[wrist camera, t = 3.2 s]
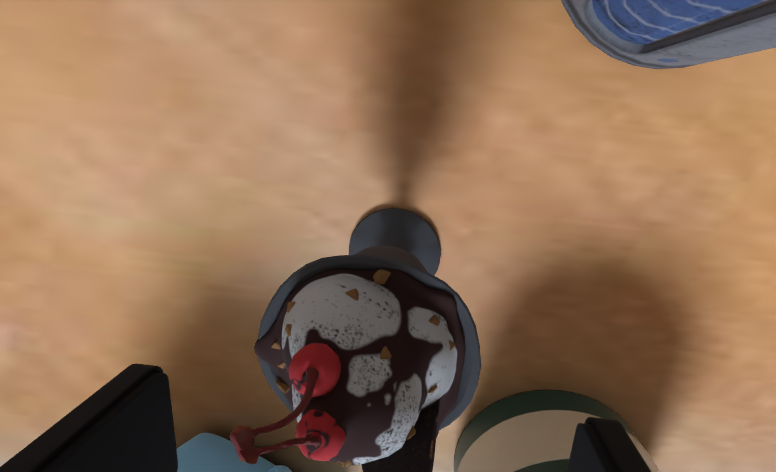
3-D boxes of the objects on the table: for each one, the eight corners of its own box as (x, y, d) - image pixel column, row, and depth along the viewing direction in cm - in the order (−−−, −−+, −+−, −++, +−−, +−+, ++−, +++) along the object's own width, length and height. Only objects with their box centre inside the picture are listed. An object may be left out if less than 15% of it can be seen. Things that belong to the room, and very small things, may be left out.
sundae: (340, 181, 21) (139, 318, 6) (468, 205, 20) (566, 406, 6) (325, 295, 22) (143, 602, 8) (442, 318, 22) (467, 680, 8)
